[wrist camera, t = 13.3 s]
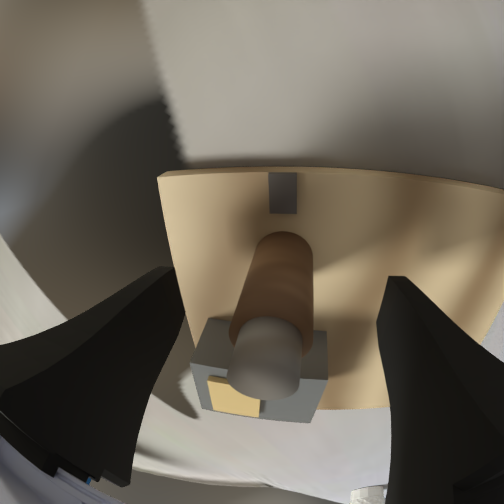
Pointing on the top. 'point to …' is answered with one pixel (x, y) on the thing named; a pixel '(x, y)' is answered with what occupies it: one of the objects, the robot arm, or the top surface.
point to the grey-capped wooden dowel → (273, 319)
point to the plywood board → (339, 252)
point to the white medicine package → (368, 495)
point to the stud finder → (232, 402)
